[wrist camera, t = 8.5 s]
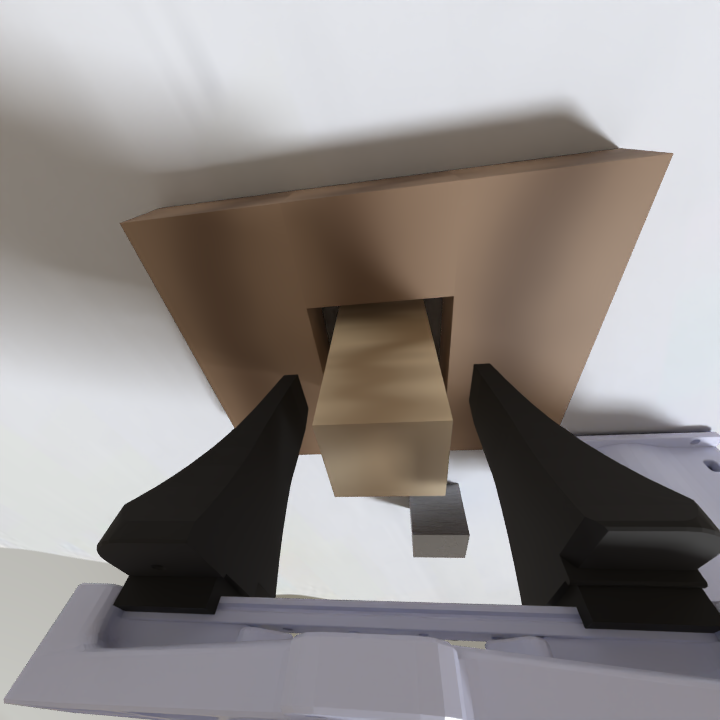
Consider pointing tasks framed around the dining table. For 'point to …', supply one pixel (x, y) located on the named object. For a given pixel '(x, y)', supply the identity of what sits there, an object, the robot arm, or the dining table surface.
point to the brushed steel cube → (439, 525)
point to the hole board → (407, 273)
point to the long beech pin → (384, 404)
